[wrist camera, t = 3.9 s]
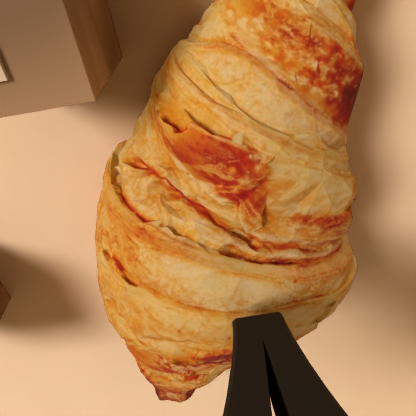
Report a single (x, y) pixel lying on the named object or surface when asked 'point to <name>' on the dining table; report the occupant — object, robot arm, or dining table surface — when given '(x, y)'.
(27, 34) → the number block one
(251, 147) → the croissant
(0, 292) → the number block seven
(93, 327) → the dining table surface
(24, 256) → the dining table surface
